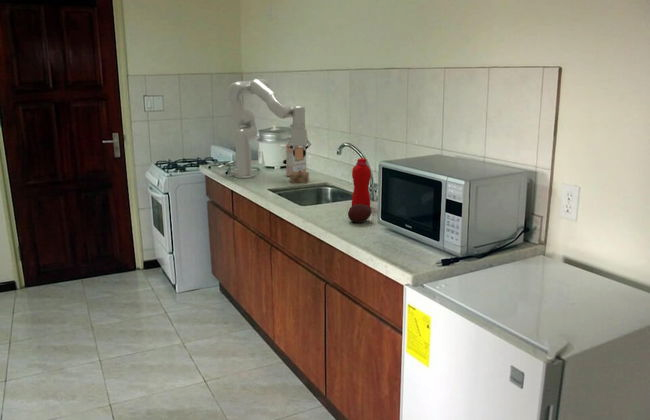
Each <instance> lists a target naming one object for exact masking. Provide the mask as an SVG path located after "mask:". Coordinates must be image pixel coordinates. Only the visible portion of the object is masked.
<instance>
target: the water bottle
mask: <svg viewBox="0 0 650 420" xmlns="http://www.w3.org/2000/svg"><path fill="white" fill-rule="evenodd" d="M348 177H351V178H352V183H348V186H349V185H352V184H353V193H352V196H351V207H352V206H353V205H355V204H364V205H367V206H368V207H369V208H370V209H371V198H370V191H369V189H370V188H369V187H370V186H369V185H370V182H371V178H372V173H371V168H370V167H369V165H367V159H366V158H361V157H360V158H358V159H357V160H356V163H355V165H354V166H353V167H352V169H351V171H350V174H349V175H348Z"/></svg>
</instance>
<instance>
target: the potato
mask: <svg viewBox="0 0 650 420" xmlns="http://www.w3.org/2000/svg"><path fill="white" fill-rule="evenodd" d="M371 215H372V210H371V207H370V208H369V207H368V206H367V205H364V204H355V205H353V206H352V205H351V207H350V208H349V209H348V211H347V216H348V219H349V220H350V221H351V222H353V223H356V222H357V224H360V223H364V222H365V221H367V220H368V219H369V218H370V217H371Z"/></svg>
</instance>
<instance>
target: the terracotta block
mask: <svg viewBox="0 0 650 420" xmlns="http://www.w3.org/2000/svg"><path fill="white" fill-rule="evenodd" d="M303 150H304V148H303V147H296V148H295V158H304V157H303Z"/></svg>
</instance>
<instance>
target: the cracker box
mask: <svg viewBox="0 0 650 420" xmlns="http://www.w3.org/2000/svg"><path fill="white" fill-rule="evenodd" d="M287 144H288V143H287ZM287 144H286V145H285V147H286V148H285V149H286V152H285V153H286V154H285V155H286V157H285V158H286V159H285V160H286V161H285V162H286V167H285V171H286V173H285V174H286V177H290V175H291V174H292V172H307V154H306V155H305V157H304V158H295V157H294V155H293V150H292V149H291V148H290V147H289V146H288V145H287ZM292 146H293V145H292ZM305 146H307V145H305ZM296 147H303V146H296ZM296 147H295V148H296Z"/></svg>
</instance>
